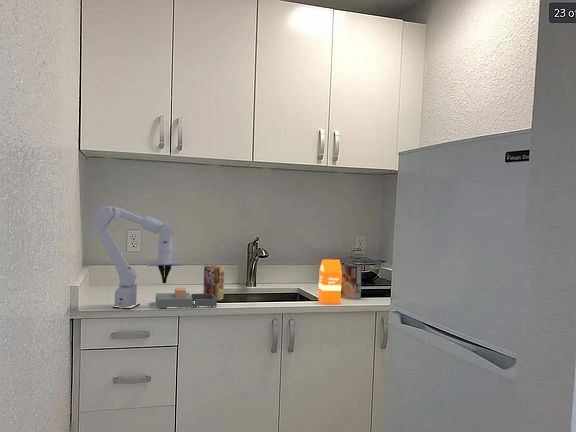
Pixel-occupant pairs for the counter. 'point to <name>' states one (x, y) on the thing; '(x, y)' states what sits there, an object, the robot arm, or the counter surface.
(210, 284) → the candy box
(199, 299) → the tray
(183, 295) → the orange block
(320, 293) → the orange juice
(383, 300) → the counter surface
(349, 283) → the coffee box
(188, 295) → the slate board
